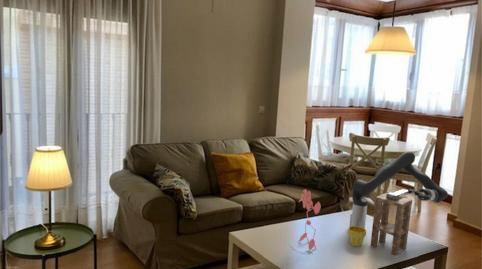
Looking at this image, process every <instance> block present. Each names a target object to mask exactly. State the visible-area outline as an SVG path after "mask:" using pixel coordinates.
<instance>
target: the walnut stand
mask: <svg viewBox="0 0 482 269" xmlns="http://www.w3.org/2000/svg"><path fill="white" fill-rule="evenodd" d="M387 193H388V192H385V193H383V194H380V195H378V196H376V197H375V203H374V209H373V210H374V212H373V218H372V227H371V229H372V230H371V237H370V245H369V247H372V248H377V247H378V244H379V243H382V244H384V243H385V242H386V238H387V235H391V236H393V237H392V243H391V249H390V250H391V251H390V254H391V255H393V256H398V255H399V251H400V250H402V251H406V249H407V244H408V237H409V230H410V229H409V228H410V220H411V213H412V206H413V199H410V198H407V197H405V196H403V197H401V198H399V200H397V201H394V200H390V199H387V198H386V195H387ZM390 205H391V206H394V207H396V209H395V210H396V211H395V220H394V223H391V222H389V214H390Z"/></svg>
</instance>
